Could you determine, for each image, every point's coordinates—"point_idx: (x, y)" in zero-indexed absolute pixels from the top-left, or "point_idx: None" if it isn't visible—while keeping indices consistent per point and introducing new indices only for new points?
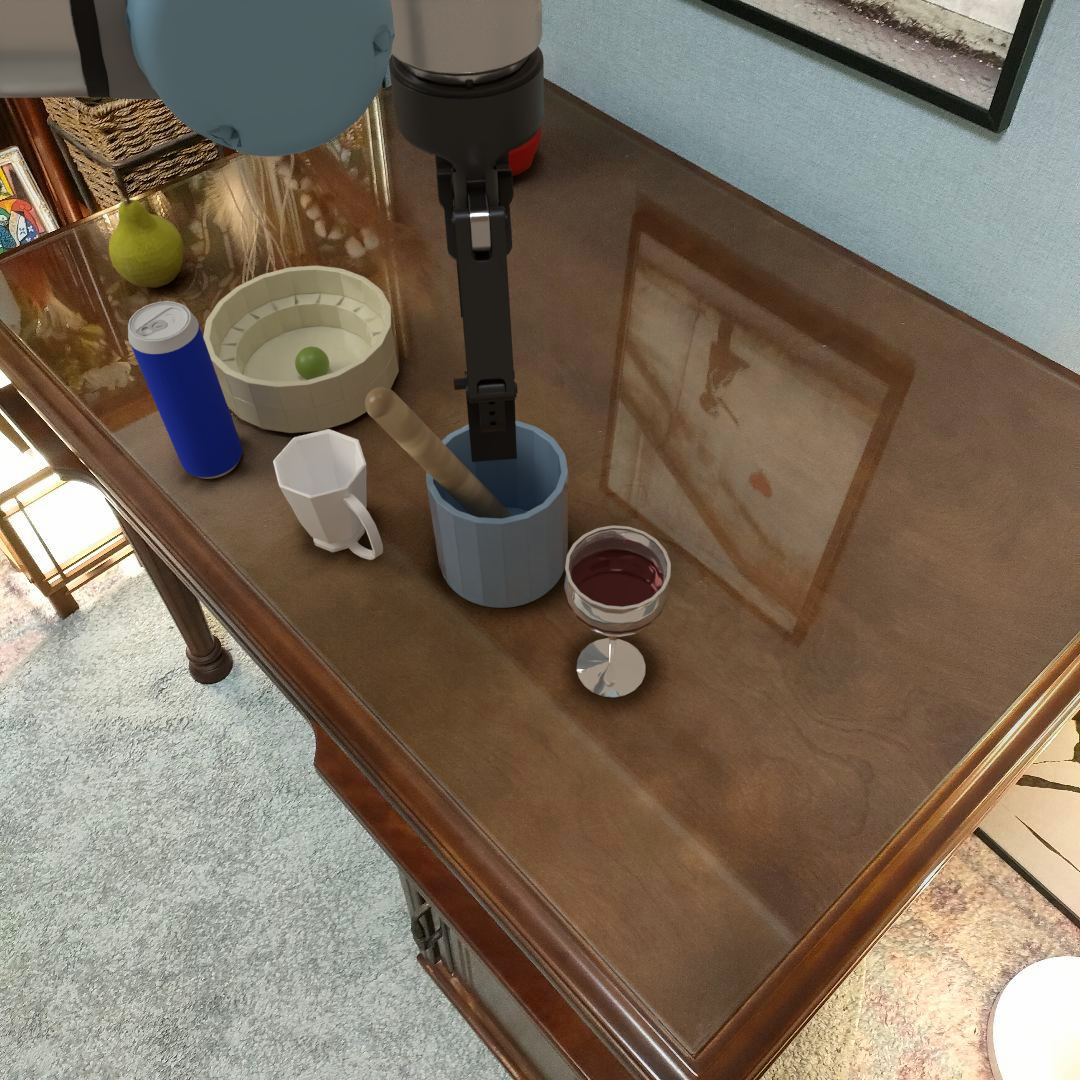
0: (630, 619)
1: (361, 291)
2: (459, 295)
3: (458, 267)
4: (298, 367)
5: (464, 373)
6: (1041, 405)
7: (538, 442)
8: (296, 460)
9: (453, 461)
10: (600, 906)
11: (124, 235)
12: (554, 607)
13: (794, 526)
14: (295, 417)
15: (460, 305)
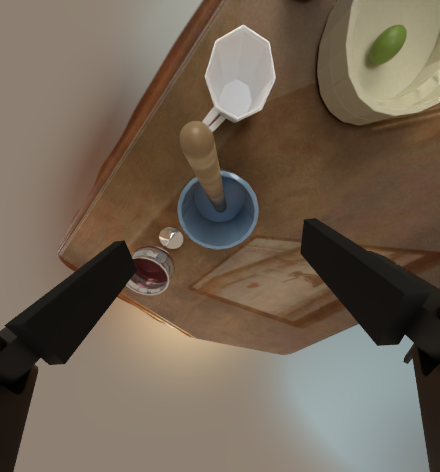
0: None
1: None
2: (319, 230)
3: (345, 253)
4: (385, 31)
5: (19, 324)
6: (277, 349)
7: (243, 232)
8: (255, 53)
9: (209, 193)
10: (88, 234)
11: None
12: None
13: (234, 292)
14: (327, 43)
15: (311, 225)
